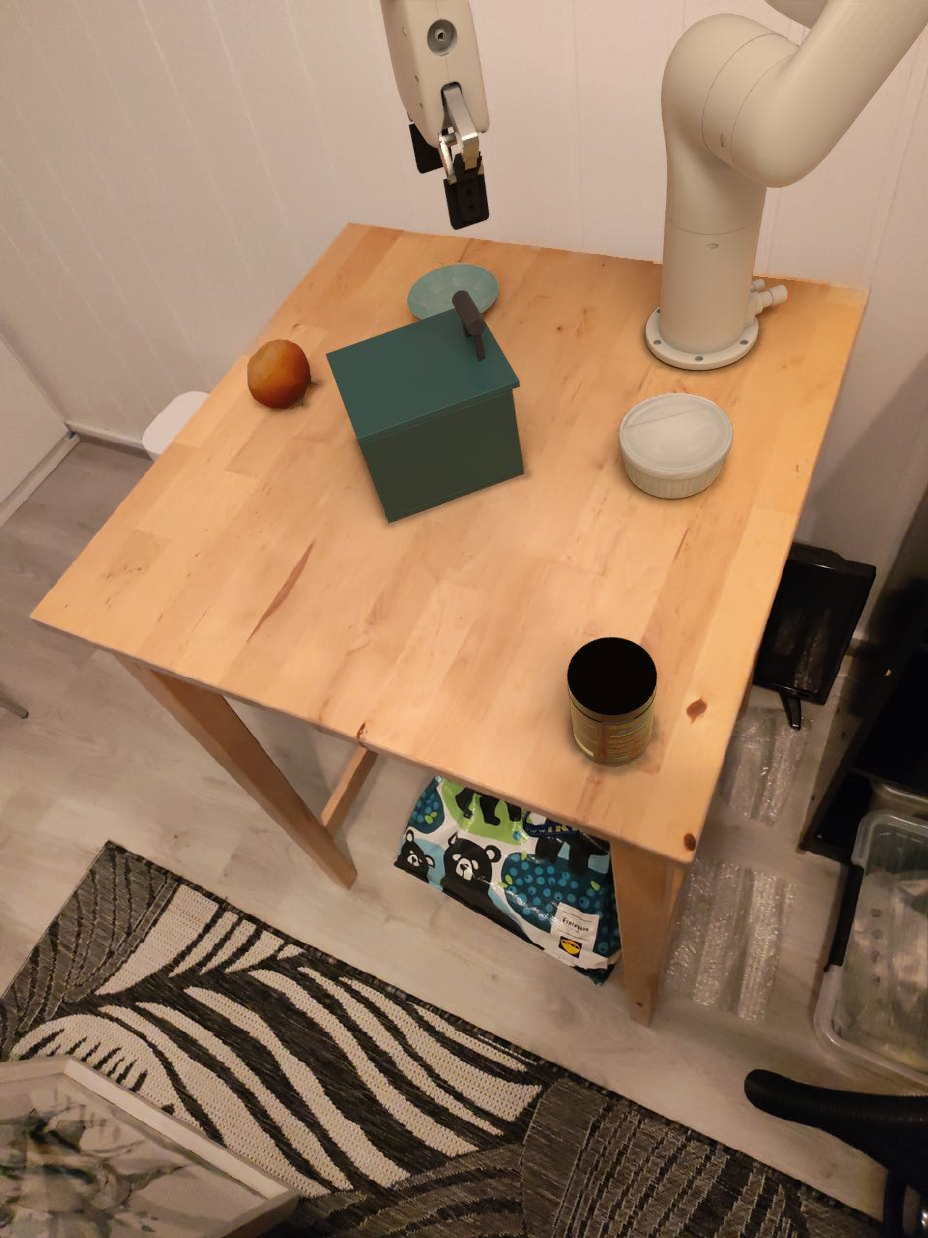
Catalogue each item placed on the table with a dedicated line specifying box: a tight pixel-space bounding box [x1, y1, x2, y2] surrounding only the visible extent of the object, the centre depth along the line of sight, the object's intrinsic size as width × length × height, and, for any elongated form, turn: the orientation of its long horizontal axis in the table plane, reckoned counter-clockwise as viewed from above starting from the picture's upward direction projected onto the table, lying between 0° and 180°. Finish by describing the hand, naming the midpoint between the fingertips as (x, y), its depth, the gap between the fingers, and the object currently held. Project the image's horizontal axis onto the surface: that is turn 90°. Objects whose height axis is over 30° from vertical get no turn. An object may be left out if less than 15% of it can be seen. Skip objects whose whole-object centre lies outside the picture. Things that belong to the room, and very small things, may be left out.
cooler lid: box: [325, 290, 521, 446], centre depth 78 cm, size 16×14×6 cm
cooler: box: [358, 389, 525, 524], centre depth 85 cm, size 16×14×12 cm
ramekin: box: [617, 392, 734, 500], centre depth 81 cm, size 11×11×5 cm
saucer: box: [406, 263, 500, 320], centre depth 102 cm, size 12×12×2 cm
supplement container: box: [566, 636, 658, 766], centre depth 65 cm, size 7×7×10 cm
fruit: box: [246, 339, 317, 410], centre depth 97 cm, size 8×8×8 cm
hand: (452, 194), depth 68 cm, fingers open, 9 cm apart
